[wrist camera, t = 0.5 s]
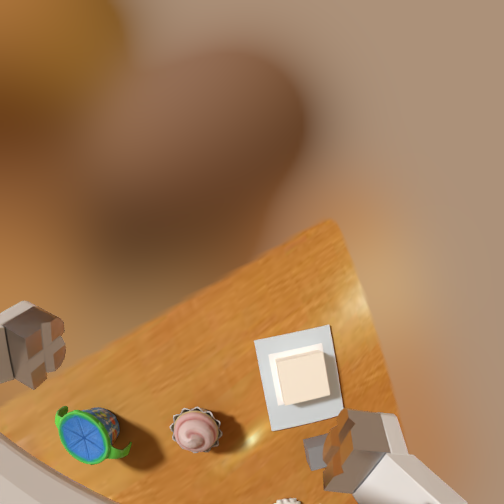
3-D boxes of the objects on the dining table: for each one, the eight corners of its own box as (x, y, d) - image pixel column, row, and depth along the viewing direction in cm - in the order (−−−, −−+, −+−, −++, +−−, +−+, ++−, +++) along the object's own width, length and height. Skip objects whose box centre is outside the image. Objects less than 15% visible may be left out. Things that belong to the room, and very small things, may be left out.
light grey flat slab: (343, 413, 55) (344, 414, 54) (271, 430, 54) (272, 431, 54) (328, 324, 58) (329, 324, 58) (254, 340, 57) (254, 340, 57)
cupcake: (226, 402, 55) (222, 419, 45) (222, 446, 53) (218, 468, 44) (176, 396, 55) (163, 411, 45) (174, 439, 53) (162, 460, 44)
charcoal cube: (331, 453, 53) (337, 463, 49) (306, 460, 53) (311, 470, 48) (328, 433, 54) (334, 442, 49) (303, 439, 54) (307, 449, 49)
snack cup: (66, 420, 53) (41, 434, 43) (81, 382, 55) (55, 392, 45) (128, 461, 52) (111, 482, 42) (146, 424, 54) (129, 442, 44)
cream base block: (324, 389, 55) (330, 394, 51) (282, 399, 55) (285, 405, 51) (317, 349, 57) (322, 351, 53) (274, 358, 56) (276, 362, 52)
